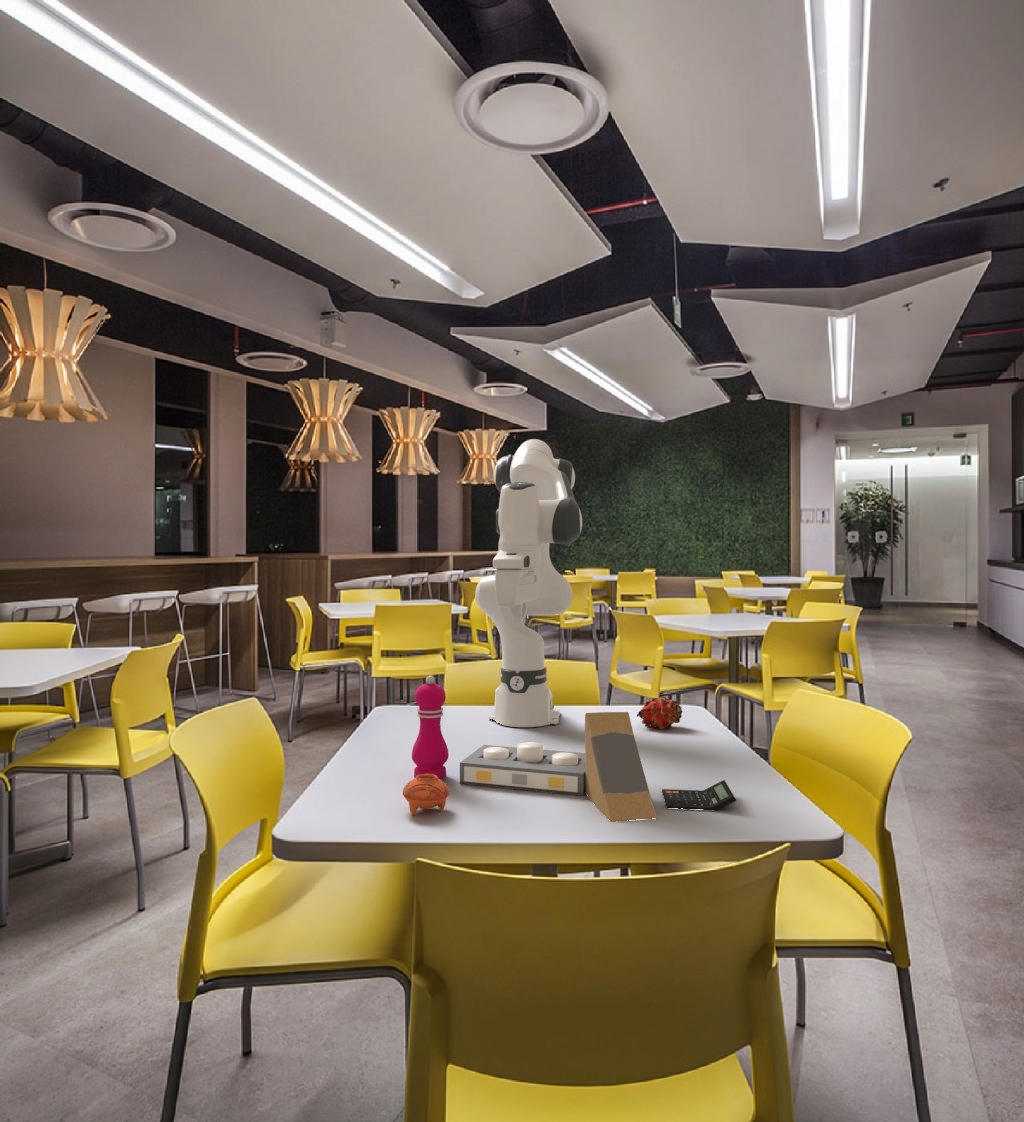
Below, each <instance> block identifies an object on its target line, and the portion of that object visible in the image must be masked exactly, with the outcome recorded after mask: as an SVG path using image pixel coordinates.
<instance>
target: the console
mask: <svg viewBox="0 0 1024 1122" xmlns="http://www.w3.org/2000/svg"><path fill="white" fill-rule="evenodd" d="M490 747H503V748H507V749H508V750H509V757H508V758H507V759H506V760H497V759H486V758H483V756H484V749H486V748H490ZM556 753H573V754H576V755H578V765H577V766H566V765H555V764H552V755H553V754H556ZM459 784H462V785H470V786H471V785H472V786H481V787H489V788H490V787H493V788H500V787H502V789H510V788H513V790H521V789H522V791H533V792H541V791H543V792H544V793H551V792H552V793H553V794H561V795H562V794H563V795H572V796H581V795H583V796H585V795H586V787H585V752H576V751H565V750H551V749H543V761H542V762H541V763H532V762H520V761H517V746H516V747H514V746H503V745H494V744H493V745H491V744H483V745H481V746H480V747H478V748H477V749H476V750H475V751H473V752H472V753H471V754H469V755H468V756H467V757H465V758H464V759H462V761H460V762H459ZM543 792H542V793H543Z"/></svg>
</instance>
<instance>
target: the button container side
mask: <svg viewBox="0 0 1024 1122" xmlns="http://www.w3.org/2000/svg"><path fill="white" fill-rule="evenodd" d="M552 764H555V765H566V766H577V765H578V755H576V754H573V753H556V754H553V755H552Z"/></svg>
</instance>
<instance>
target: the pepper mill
mask: <svg viewBox="0 0 1024 1122" xmlns="http://www.w3.org/2000/svg"><path fill="white" fill-rule="evenodd" d="M435 680H436V679H435V677H434V676H433V675H428V676H427V677H426V678H425V682H426V683H424V684H421V685H420V686H418V688H417V689H416V691H415V693H414V701H415V703H416V705H417V706H418V708H417V717H419V730H418V734H417V737H416V739H415V741H414V744H413V747H412V750H411V760H412V761H413V763H414V764H415V765H416V767H414V769H413V777H414V778H416V776H417V775H424V774H434V775H436V776H437V777H438V779H440V780H441V781H443V780H444V779H446V778H447V767H446V766H445V764H446V762H447V761H448V760H449V747H448V744H447V742H446V740H445V739H444V736H443V733H442V728H441V726H442V725H441V721H442V719H441V718H442V717H443V715H444V713H443V711H444V709H443V707H442V706H444V703H445V702H446V698H447V697H446V692H445V690H444V688H443V686H441V685H440V684H437V683H435ZM414 778H413V779H414Z"/></svg>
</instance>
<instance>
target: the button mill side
mask: <svg viewBox="0 0 1024 1122" xmlns="http://www.w3.org/2000/svg"><path fill="white" fill-rule="evenodd" d="M508 757H509V750H508V749H507V748H503V747H490V748H486V749H484V756H483V758H486V759H497V760H506V759H507V758H508Z"/></svg>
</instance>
